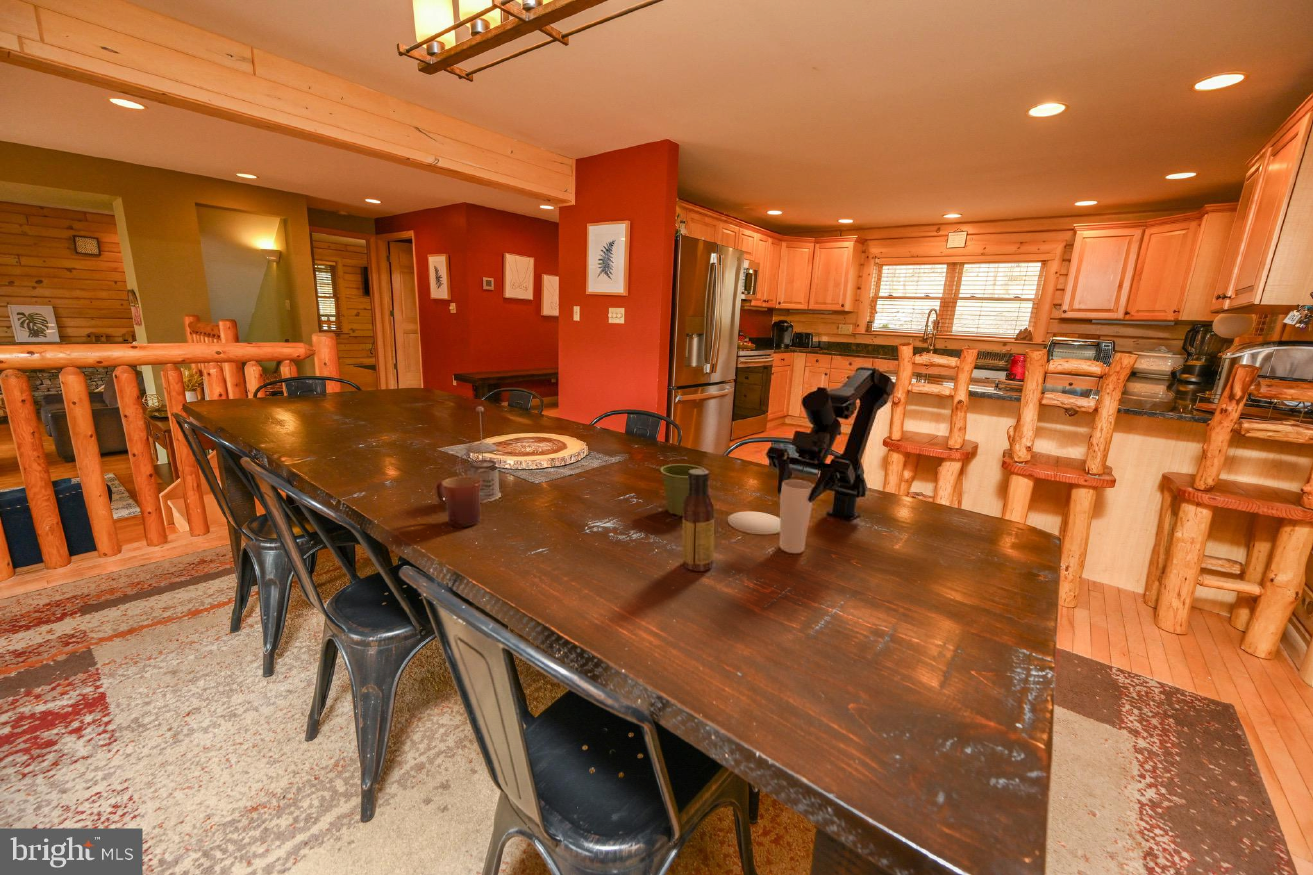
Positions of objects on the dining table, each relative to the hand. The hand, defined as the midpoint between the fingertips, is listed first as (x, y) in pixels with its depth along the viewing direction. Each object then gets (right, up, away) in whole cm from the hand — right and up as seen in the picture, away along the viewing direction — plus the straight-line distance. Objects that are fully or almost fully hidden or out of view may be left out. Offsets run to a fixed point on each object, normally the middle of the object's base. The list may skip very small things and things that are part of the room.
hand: (793, 497), depth 106 cm
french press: (-77, -4, +29) cm, 82 cm away
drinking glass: (+1, -12, +4) cm, 13 cm away
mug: (-76, -8, +13) cm, 78 cm away
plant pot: (-23, -7, +24) cm, 34 cm away
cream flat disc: (-4, -9, +18) cm, 20 cm away
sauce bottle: (-21, -13, -5) cm, 26 cm away
